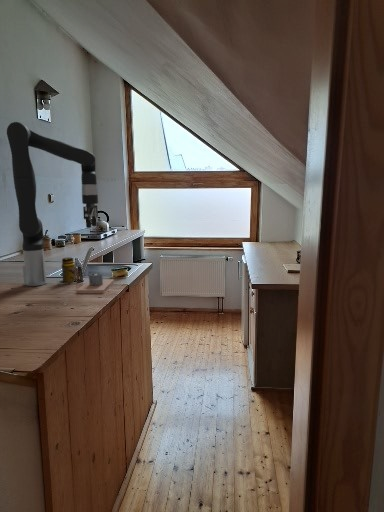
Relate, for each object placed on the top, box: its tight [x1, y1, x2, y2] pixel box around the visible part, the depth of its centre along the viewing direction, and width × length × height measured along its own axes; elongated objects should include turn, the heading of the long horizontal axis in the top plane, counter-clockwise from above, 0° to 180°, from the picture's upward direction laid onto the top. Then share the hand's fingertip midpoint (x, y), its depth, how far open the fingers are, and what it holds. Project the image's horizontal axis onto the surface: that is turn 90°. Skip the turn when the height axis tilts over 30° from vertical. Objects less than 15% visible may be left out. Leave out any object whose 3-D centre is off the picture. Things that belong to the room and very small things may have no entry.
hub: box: [88, 272, 104, 286], centre depth 168 cm, size 6×6×5 cm
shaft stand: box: [76, 274, 115, 294], centre depth 169 cm, size 12×19×6 cm, turn 178°
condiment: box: [57, 257, 76, 285], centre depth 179 cm, size 7×8×12 cm
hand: (91, 226), depth 179 cm, fingers open, 8 cm apart
